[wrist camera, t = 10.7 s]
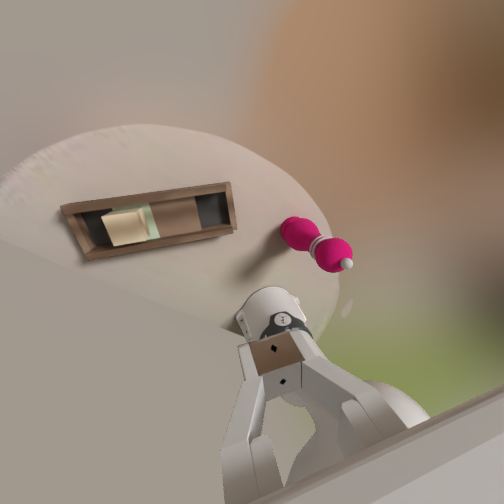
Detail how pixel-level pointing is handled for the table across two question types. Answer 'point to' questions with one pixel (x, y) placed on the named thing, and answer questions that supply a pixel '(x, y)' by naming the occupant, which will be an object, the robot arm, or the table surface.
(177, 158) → the table surface
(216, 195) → the tray
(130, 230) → the maple block
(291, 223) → the pepper mill
